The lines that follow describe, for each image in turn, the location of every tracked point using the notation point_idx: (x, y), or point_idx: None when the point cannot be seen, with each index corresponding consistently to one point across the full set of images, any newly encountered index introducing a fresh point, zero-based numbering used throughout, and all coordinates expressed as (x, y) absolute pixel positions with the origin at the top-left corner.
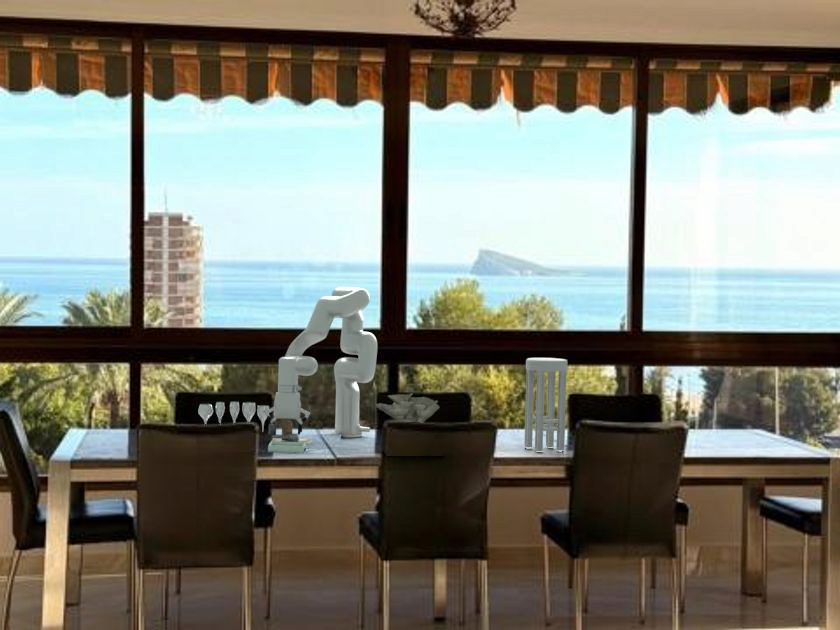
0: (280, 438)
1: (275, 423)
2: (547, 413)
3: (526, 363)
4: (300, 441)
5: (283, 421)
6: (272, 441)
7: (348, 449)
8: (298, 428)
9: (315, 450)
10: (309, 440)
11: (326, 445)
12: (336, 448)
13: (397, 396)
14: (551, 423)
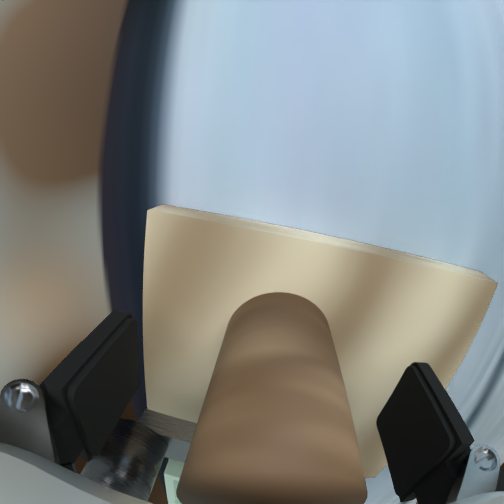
0: (216, 250)
1: (79, 405)
2: None
3: None
4: (370, 411)
5: (200, 500)
6: (169, 476)
7: (497, 436)
8: (391, 467)
9: (378, 482)
10: (449, 364)
11: (496, 367)
12: (479, 431)
13: None
14: None
